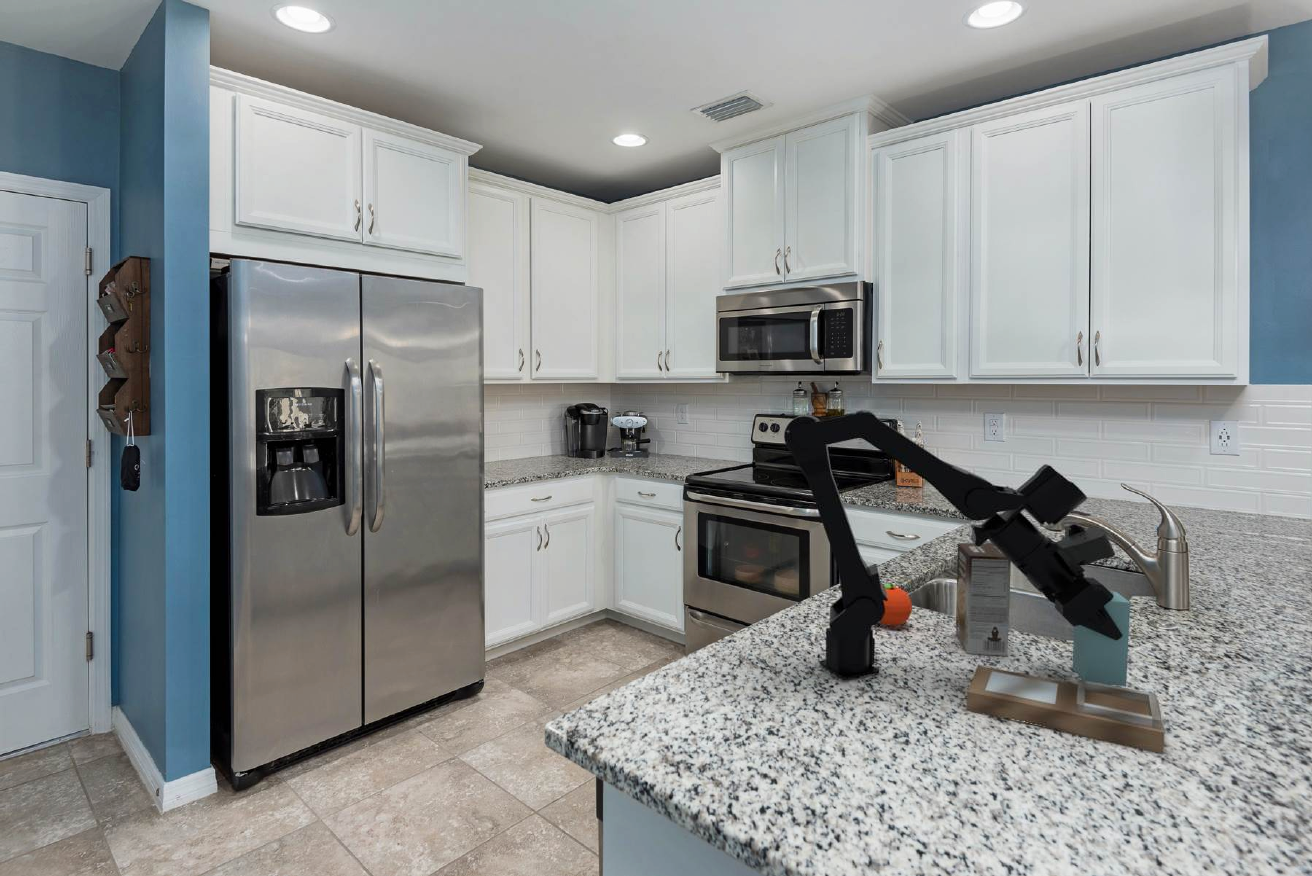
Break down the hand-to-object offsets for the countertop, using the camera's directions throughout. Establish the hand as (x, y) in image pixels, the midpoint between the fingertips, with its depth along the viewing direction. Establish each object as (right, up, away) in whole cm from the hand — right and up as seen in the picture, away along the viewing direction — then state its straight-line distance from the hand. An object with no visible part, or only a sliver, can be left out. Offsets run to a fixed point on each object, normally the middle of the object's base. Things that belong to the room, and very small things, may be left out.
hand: (1112, 631), depth 96 cm
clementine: (-21, -7, +29) cm, 37 cm away
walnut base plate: (-10, -9, -5) cm, 15 cm away
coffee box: (-9, -8, +19) cm, 22 cm away
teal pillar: (-1, -7, +1) cm, 7 cm away
